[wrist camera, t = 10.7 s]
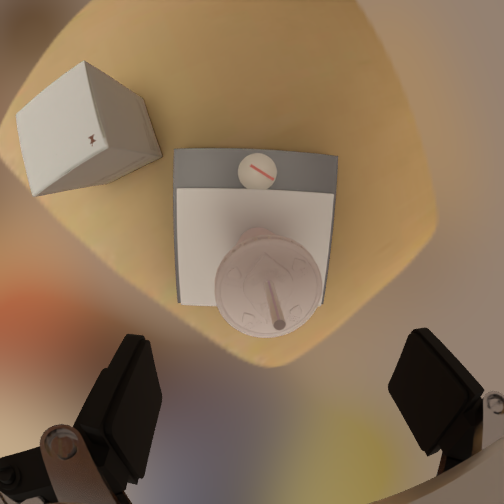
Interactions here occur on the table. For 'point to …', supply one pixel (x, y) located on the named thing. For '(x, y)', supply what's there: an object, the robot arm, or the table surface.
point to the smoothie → (267, 284)
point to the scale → (247, 208)
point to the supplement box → (84, 132)
